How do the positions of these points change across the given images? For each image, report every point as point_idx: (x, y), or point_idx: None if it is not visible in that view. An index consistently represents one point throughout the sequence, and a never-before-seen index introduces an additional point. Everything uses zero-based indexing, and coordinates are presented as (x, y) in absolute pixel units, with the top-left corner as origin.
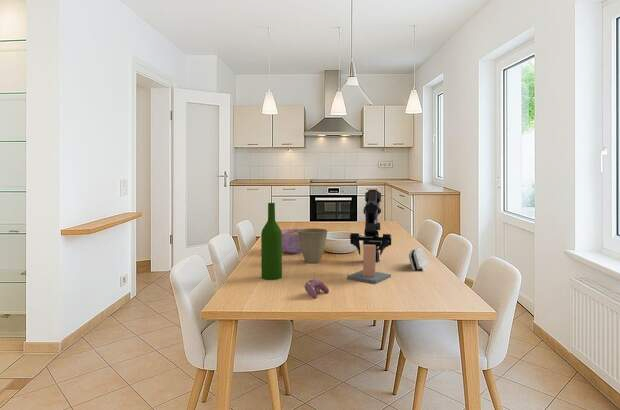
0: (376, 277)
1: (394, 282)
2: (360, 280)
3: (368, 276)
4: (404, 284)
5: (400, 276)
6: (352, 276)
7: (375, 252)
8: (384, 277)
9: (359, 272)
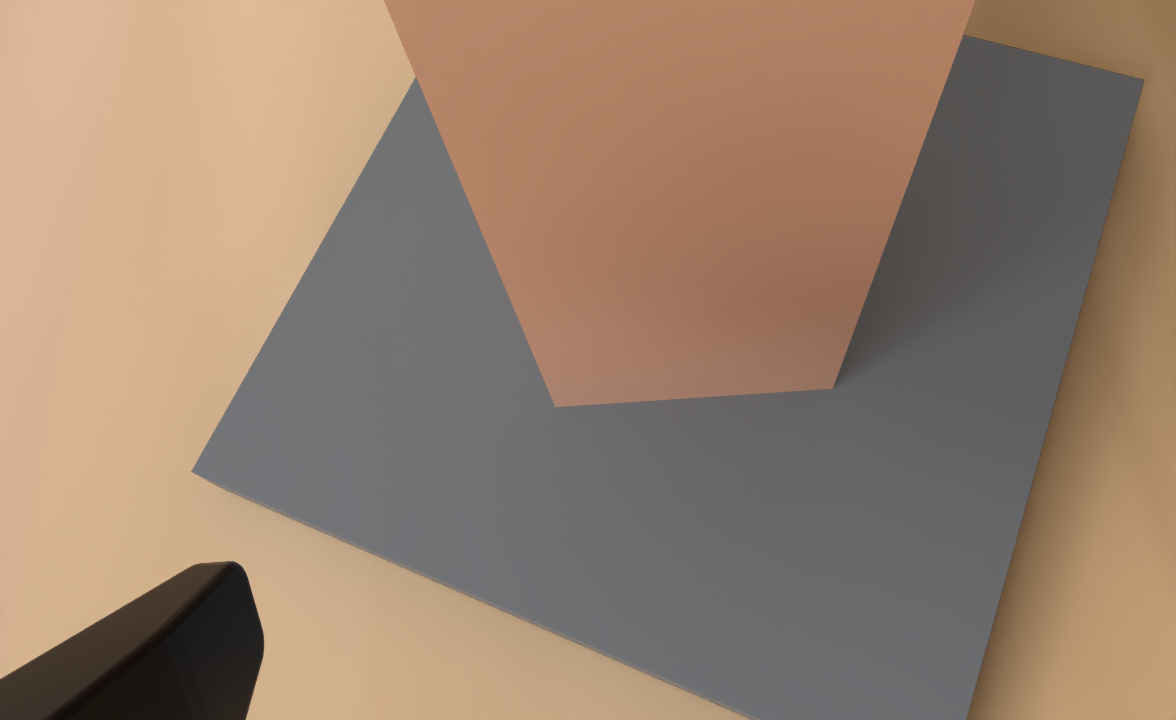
0: None
1: (201, 111)
2: None
3: None
4: (56, 42)
5: (5, 593)
6: (1018, 77)
7: (412, 61)
8: (353, 194)
9: (960, 467)
